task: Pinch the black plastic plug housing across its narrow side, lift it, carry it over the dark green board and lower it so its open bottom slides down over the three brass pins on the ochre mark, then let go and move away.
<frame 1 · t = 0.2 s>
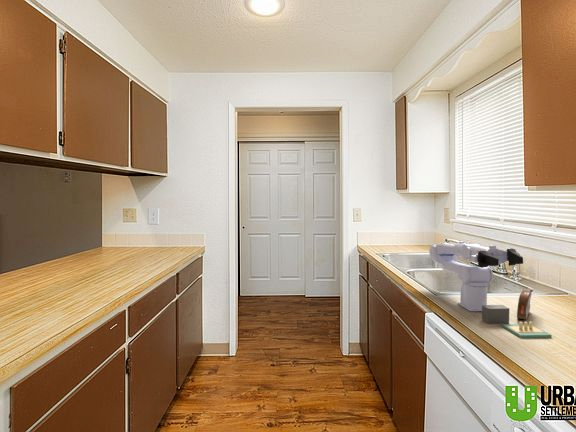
hand: (509, 261, 110), 21 cm above the worktop, tool horizontal, fingers open, 7 cm apart
tin: (524, 316, 122), on the worktop
board: (525, 331, 108), on the worktop
housing: (495, 321, 117), on the worktop
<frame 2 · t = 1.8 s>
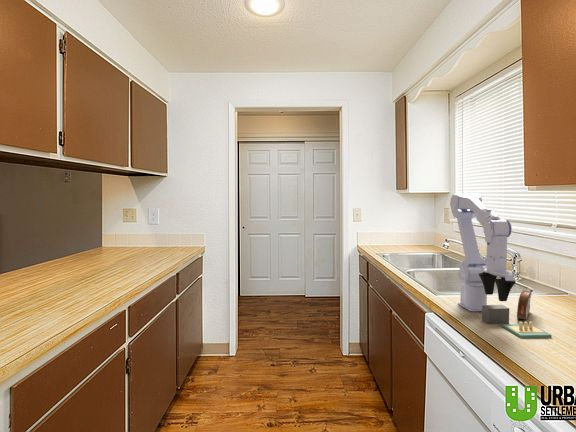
hand: (495, 297, 116), 8 cm above the worktop, tool pointing down, fingers open, 7 cm apart
nothing on the worktop moved.
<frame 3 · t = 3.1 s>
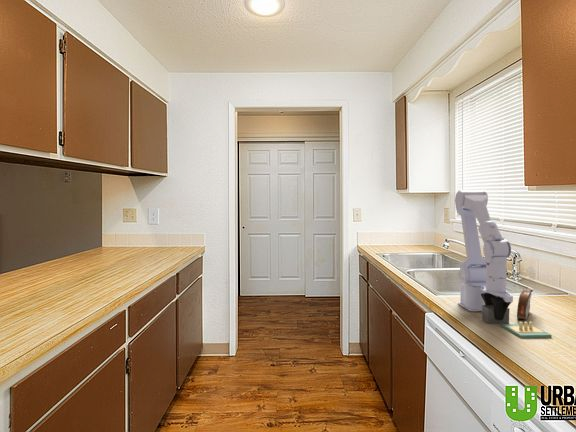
hand: (495, 317, 117), 1 cm above the worktop, tool pointing down, fingers closed on housing, 4 cm apart
housing: (495, 321, 117), on the worktop, touching gripper
everything else where it was.
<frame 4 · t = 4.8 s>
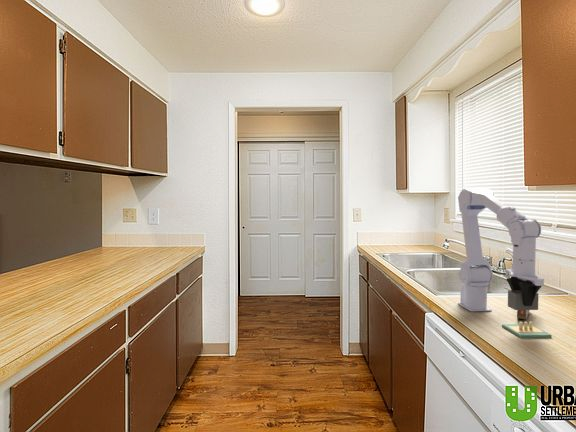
hand: (522, 303, 108), 9 cm above the worktop, tool pointing down, fingers closed on housing, 4 cm apart
housing: (522, 308, 108), point 7 cm above the worktop, touching gripper
everything else where it was.
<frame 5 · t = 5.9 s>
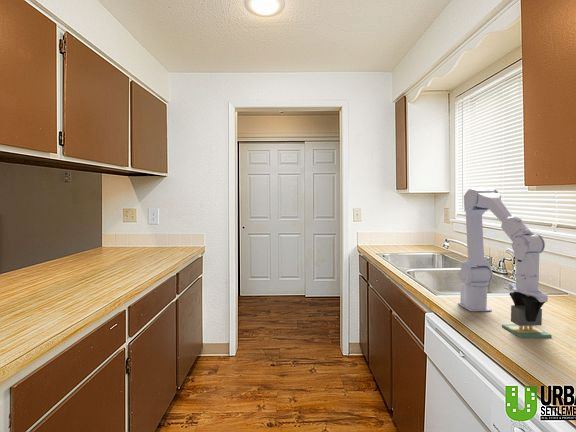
hand: (526, 318, 107), 4 cm above the worktop, tool pointing down, fingers closed on housing, 4 cm apart
housing: (525, 323, 108), point 3 cm above the worktop, touching gripper
everything else where it was.
when the fingers open (3 cm above the worktop, at t = 6.6 s): housing stays where it is, resting on board.
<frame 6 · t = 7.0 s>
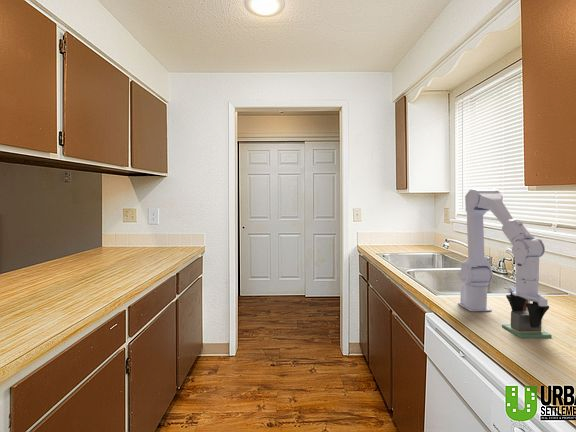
hand: (525, 322, 108), 3 cm above the worktop, tool pointing down, fingers open, 7 cm apart
housing: (525, 329, 108), point 1 cm above the worktop, touching board
everything else where it was.
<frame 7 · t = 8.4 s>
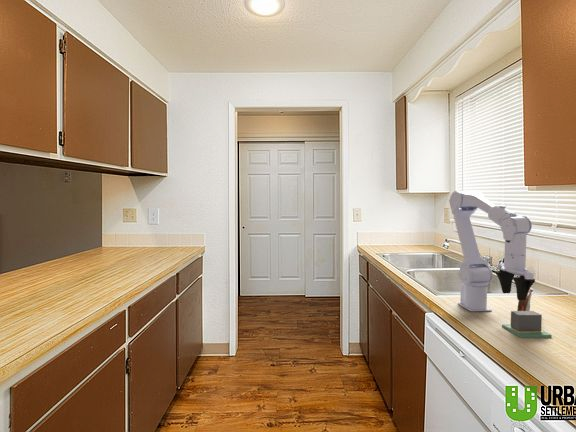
hand: (513, 296, 113), 9 cm above the worktop, tool pointing down, fingers open, 7 cm apart
nothing on the worktop moved.
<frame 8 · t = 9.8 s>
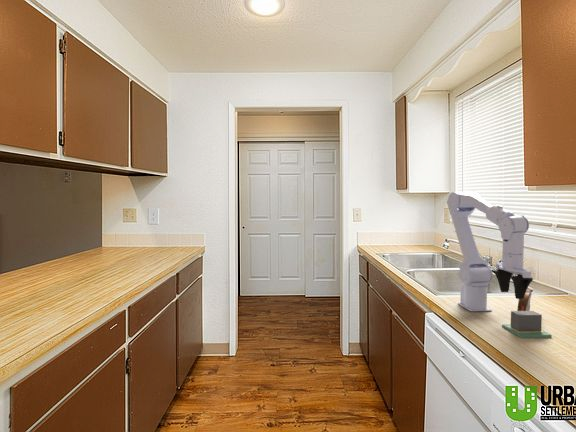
hand: (511, 295, 114), 9 cm above the worktop, tool pointing down, fingers open, 7 cm apart
nothing on the worktop moved.
at the end: housing 0.0 cm off-centre on the board, point 0.9 cm above the board's base; housing tilted 0°; the gripper is holding nothing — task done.
